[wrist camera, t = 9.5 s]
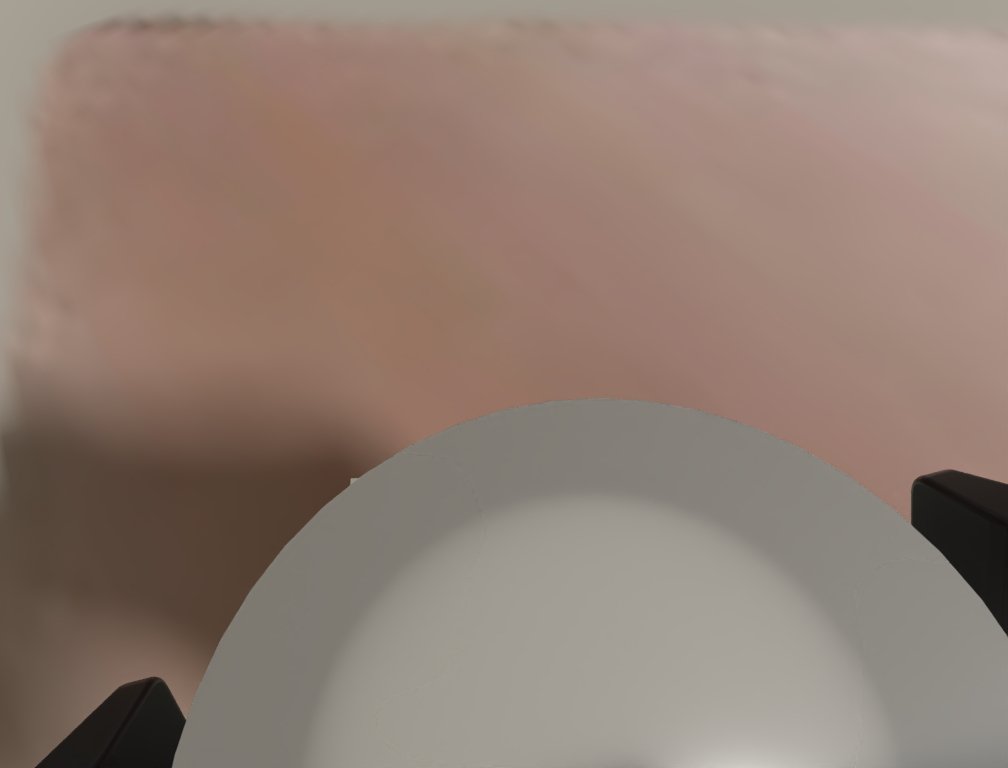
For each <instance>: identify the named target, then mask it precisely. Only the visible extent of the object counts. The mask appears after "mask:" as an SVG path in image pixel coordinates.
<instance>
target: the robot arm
mask: <svg viewBox="0 0 1008 768" xmlns="http://www.w3.org/2000/svg"><path fill="white" fill-rule="evenodd" d="M911 525H912V526H913V527H914V528H915V529H916V530H917V531H918V532H919V533H920V534H922V535H923V536H924V537H925V538H926V539H927V540H928V541H929V542H930V543H931V544H932V545H933V546H934V547H936V548H937V549H938V550H939V551H940V552H941V553H942V554H943V556H944V557H945V558H946V559H947V560H948V561H949V562H950V564H951V565H952V566H953V567H954V568H955V569H956V571H957V572H958V573H959V574H960V575H961V576H962V577H963V579H964V580H965V581H966V582H967V583H968V584H969V586H970V587H971V588H972V589H973V590H974V591H975V592H976V594H977V595H978V596H979V597H980V598H981V599H982V601H983V602H984V603H985V605H986V606H987V608H988V609H989V611H990V612H991V613H992V615H993V616H994V618H995V619H996V621H997V622H998V624H999V625H1000V626H1001V628H1002V629H1003V631H1004V632H1005V634H1006V635H1007V637H1008V484H1005V483H1002V482H998V481H994V480H990V479H986V478H983V477H979V476H975V475H971V474H967V473H964V472H960V471H956V470H942V471H938V472H935V473H931V474H927V475H923V476H920V477H918V478H917V479H915V481H914V482H913V484H912V489H911ZM185 723H186V719H185V717H184V716H183V714H182V712H181V710H180V708H179V706H178V705H177V703H176V701H175V699H174V697H173V695H172V693H171V692H170V690H169V688H168V686H167V685H166V683H165V682H164V681H163V680H162V679H161V678H159V677H149V678H146V679H142V680H138V681H134V682H130V683H127V684H124V685H122V686H120V687H119V688H118V689H116V690H115V691H114V692H113V693H112V694H111V695H110V696H109V697H108V698H107V699H106V700H105V701H104V702H103V703H102V704H101V705H100V706H99V707H98V708H97V709H96V710H95V711H94V712H92V713H91V714H90V715H89V716H88V717H87V718H86V719H85V720H84V721H83V722H82V723H81V724H80V725H79V726H78V727H77V728H76V729H75V730H74V731H73V732H72V733H71V734H70V735H68V736H67V737H66V738H65V739H64V740H63V741H62V742H61V743H60V744H59V745H58V746H57V747H56V748H55V749H54V750H53V751H52V752H51V753H50V754H49V755H48V756H47V757H46V758H44V759H43V760H42V761H41V762H40V763H39V764H38V765H37V766H36V767H35V768H172V765H173V761H174V756H175V753H176V750H177V747H178V744H179V741H180V738H181V735H182V732H183V729H184V726H185Z"/></svg>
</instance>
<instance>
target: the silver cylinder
mask: <svg viewBox="0 0 1008 768" xmlns="http://www.w3.org/2000/svg"><path fill="white" fill-rule="evenodd" d="M172 768H1008V637H1007V635H1006V634H1005V632H1004V631H1003V629H1002V628H1001V626H1000V625H999V624H998V622H997V621H996V619H995V618H994V616H993V615H992V613H991V612H990V611H989V609H988V608H987V606H986V605H985V603H984V602H983V601H982V599H981V598H980V597H979V596H978V595H977V594H976V592H975V591H974V590H973V589H972V588H971V587H970V586H969V584H968V583H967V582H966V581H965V580H964V579H963V577H962V576H961V575H960V574H959V573H958V572H957V571H956V569H955V568H954V567H953V566H952V565H951V564H950V562H949V561H948V560H947V559H946V558H945V557H944V556H943V554H942V553H941V552H940V551H939V550H938V549H937V548H936V547H934V546H933V545H932V544H931V543H930V542H929V541H928V540H927V539H926V538H925V537H924V536H923V535H922V534H920V533H919V532H918V531H917V530H916V529H915V528H914V527H913V526H912V525H911V524H910V523H909V522H908V521H906V520H905V519H904V518H903V517H902V516H901V515H900V514H899V513H898V512H897V511H896V510H894V509H893V508H892V507H890V506H889V505H888V504H886V503H885V502H883V501H882V500H881V499H879V498H878V497H877V496H875V495H874V494H873V493H871V492H870V491H869V490H867V489H866V488H865V487H863V486H862V485H861V484H859V483H858V482H857V481H855V480H854V479H852V478H851V477H850V476H848V475H847V474H845V473H843V472H842V471H840V470H838V469H836V468H835V467H833V466H831V465H829V464H828V463H826V462H824V461H823V460H821V459H819V458H817V457H816V456H814V455H812V454H811V453H809V452H807V451H805V450H804V449H802V448H800V447H798V446H796V445H793V444H791V443H789V442H787V441H784V440H782V439H780V438H777V437H775V436H773V435H771V434H768V433H766V432H764V431H761V430H759V429H757V428H755V427H752V426H750V425H747V424H743V423H740V422H737V421H734V420H730V419H727V418H724V417H721V416H717V415H714V414H711V413H707V412H704V411H701V410H696V409H691V408H685V407H679V406H674V405H668V404H663V403H657V402H651V401H640V400H622V399H604V398H593V399H578V400H563V401H548V402H543V403H538V404H533V405H528V406H522V407H517V408H512V409H507V410H501V411H498V412H495V413H492V414H488V415H485V416H482V417H479V418H476V419H473V420H470V421H467V422H464V423H461V424H457V425H454V426H452V427H450V428H447V429H445V430H443V431H441V432H439V433H437V434H434V435H432V436H430V437H428V438H426V439H424V440H422V441H419V442H417V443H415V444H413V445H411V446H409V447H407V448H405V449H403V450H402V451H400V452H399V453H397V454H395V455H394V456H392V457H391V458H389V459H387V460H386V461H384V462H383V463H381V464H379V465H378V466H376V467H375V468H373V469H371V470H370V471H368V472H367V473H365V474H363V475H362V476H361V477H360V478H358V479H357V480H356V481H355V482H353V483H352V484H351V485H350V486H349V487H347V488H346V489H345V490H344V491H342V492H341V493H340V494H339V495H337V496H336V497H335V498H334V499H332V500H331V501H330V502H329V503H327V504H326V505H325V506H324V507H322V508H321V510H320V511H319V512H318V513H317V514H316V515H315V516H314V517H313V518H312V519H311V520H310V521H309V522H308V523H307V524H306V525H305V526H304V527H303V528H302V529H301V530H300V531H299V532H298V533H297V534H296V535H295V536H294V537H293V538H292V539H291V540H290V541H289V542H288V543H287V544H286V545H285V546H284V548H283V549H282V550H281V552H280V553H279V554H278V555H277V557H276V558H275V559H274V561H273V562H272V563H271V564H270V566H269V567H268V568H267V570H266V571H265V572H264V574H263V575H262V576H261V577H260V579H259V580H258V581H257V583H256V584H255V585H254V586H253V588H252V589H251V590H250V592H249V594H248V595H247V597H246V599H245V600H244V602H243V604H242V605H241V607H240V608H239V610H238V612H237V613H236V615H235V617H234V618H233V620H232V622H231V623H230V625H229V627H228V628H227V630H226V632H225V633H224V635H223V637H222V638H221V640H220V642H219V644H218V646H217V648H216V651H215V653H214V655H213V657H212V659H211V661H210V664H209V666H208V668H207V670H206V672H205V674H204V676H203V679H202V681H201V683H200V685H199V687H198V689H197V692H196V694H195V696H194V699H193V702H192V705H191V708H190V711H189V714H188V717H187V720H186V723H185V726H184V729H183V732H182V735H181V738H180V741H179V744H178V747H177V750H176V753H175V756H174V761H173V765H172Z"/></svg>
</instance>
